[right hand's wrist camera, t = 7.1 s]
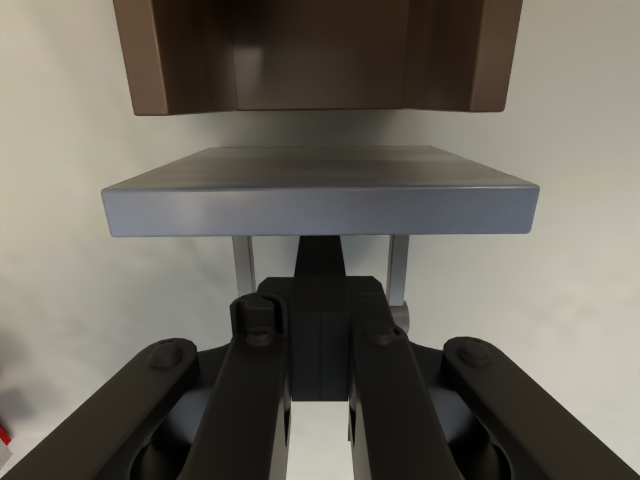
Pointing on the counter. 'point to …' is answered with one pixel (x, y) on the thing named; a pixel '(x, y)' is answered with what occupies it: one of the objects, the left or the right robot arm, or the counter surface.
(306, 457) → the counter surface
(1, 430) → the toy
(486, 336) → the counter surface
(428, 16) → the drawer
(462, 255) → the counter surface
